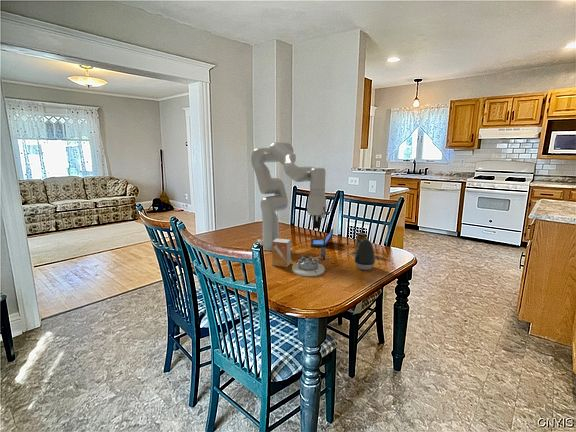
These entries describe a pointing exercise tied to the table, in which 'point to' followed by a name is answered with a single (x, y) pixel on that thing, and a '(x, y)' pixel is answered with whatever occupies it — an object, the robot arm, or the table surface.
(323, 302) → the table surface
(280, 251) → the small box
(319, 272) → the cap plate
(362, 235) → the condiment
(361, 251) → the pump dispenser
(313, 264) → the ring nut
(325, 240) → the handheld game console
